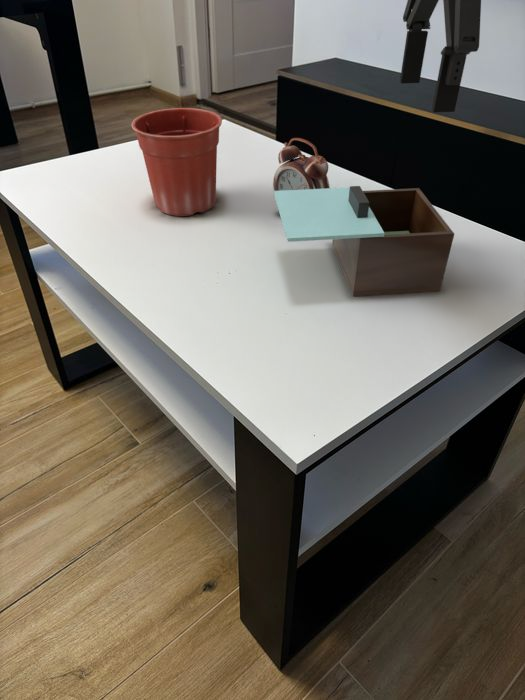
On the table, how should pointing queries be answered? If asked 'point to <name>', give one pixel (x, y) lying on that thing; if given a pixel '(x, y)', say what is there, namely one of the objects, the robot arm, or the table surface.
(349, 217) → the light blue board
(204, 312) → the table surface
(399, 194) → the case
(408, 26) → the robot arm
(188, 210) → the flower pot
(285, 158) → the alarm clock
